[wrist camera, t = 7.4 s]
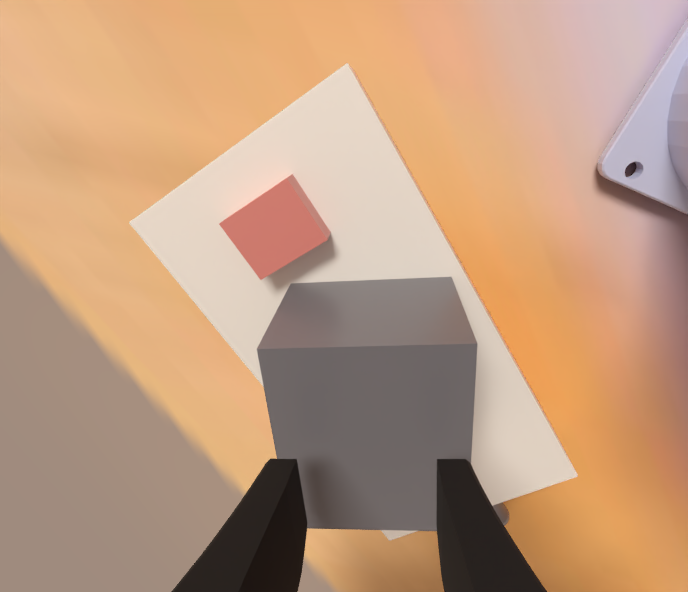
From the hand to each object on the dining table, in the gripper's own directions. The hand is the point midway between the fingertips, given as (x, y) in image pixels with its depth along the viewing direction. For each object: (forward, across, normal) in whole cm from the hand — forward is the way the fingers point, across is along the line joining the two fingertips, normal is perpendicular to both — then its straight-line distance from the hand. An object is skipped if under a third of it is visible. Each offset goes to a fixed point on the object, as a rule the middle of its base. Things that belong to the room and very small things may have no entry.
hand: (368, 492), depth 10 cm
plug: (+7, 0, 0) cm, 7 cm away
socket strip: (+8, -1, +2) cm, 8 cm away
